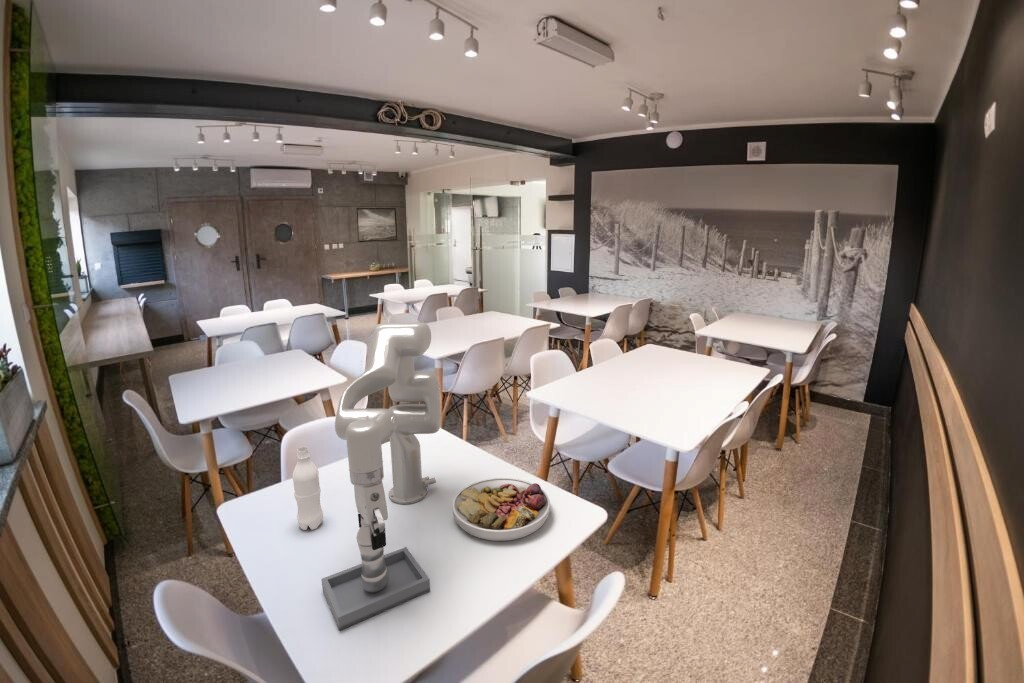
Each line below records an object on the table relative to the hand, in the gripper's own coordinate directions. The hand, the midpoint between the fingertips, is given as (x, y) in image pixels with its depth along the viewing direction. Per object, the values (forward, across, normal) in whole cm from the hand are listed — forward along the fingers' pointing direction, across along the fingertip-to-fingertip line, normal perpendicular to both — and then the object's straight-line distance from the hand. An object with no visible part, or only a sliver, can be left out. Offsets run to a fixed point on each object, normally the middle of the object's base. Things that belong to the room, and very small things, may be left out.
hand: (372, 536), depth 120 cm
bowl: (+16, +10, -43) cm, 47 cm away
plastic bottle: (+14, 0, 0) cm, 14 cm away
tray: (+15, -1, 0) cm, 15 cm away
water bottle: (+16, +37, +7) cm, 41 cm away
